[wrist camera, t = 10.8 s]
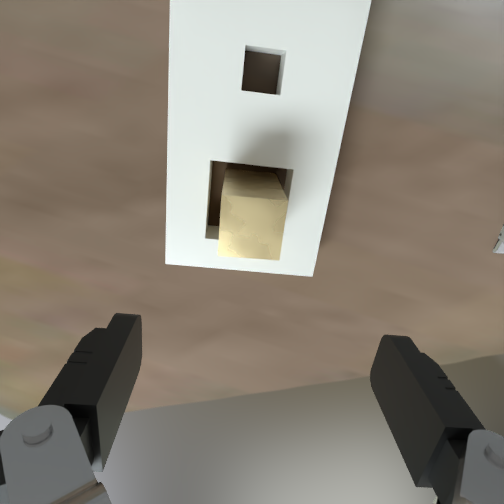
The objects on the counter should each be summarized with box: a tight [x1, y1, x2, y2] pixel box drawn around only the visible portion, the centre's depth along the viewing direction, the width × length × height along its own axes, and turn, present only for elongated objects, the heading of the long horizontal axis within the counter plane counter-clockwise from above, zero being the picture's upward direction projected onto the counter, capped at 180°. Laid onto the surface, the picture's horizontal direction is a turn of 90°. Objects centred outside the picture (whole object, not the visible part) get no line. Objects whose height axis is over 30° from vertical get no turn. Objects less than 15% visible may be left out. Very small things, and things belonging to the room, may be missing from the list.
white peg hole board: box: [165, 0, 371, 277], centre depth 26 cm, size 12×20×3 cm, turn 173°
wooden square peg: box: [218, 169, 288, 261], centre depth 25 cm, size 4×4×8 cm
